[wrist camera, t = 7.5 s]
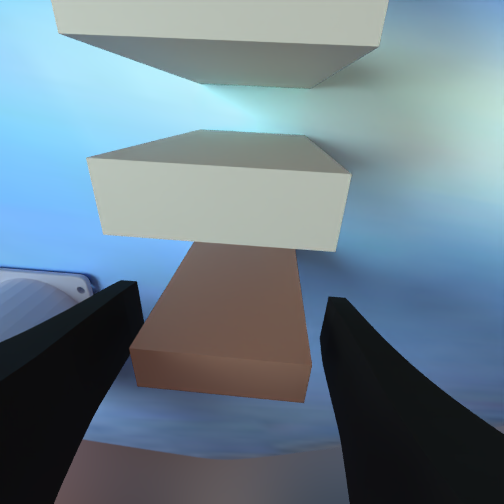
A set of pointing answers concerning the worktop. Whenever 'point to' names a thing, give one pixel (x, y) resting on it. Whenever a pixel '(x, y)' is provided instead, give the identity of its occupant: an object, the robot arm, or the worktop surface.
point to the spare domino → (228, 326)
